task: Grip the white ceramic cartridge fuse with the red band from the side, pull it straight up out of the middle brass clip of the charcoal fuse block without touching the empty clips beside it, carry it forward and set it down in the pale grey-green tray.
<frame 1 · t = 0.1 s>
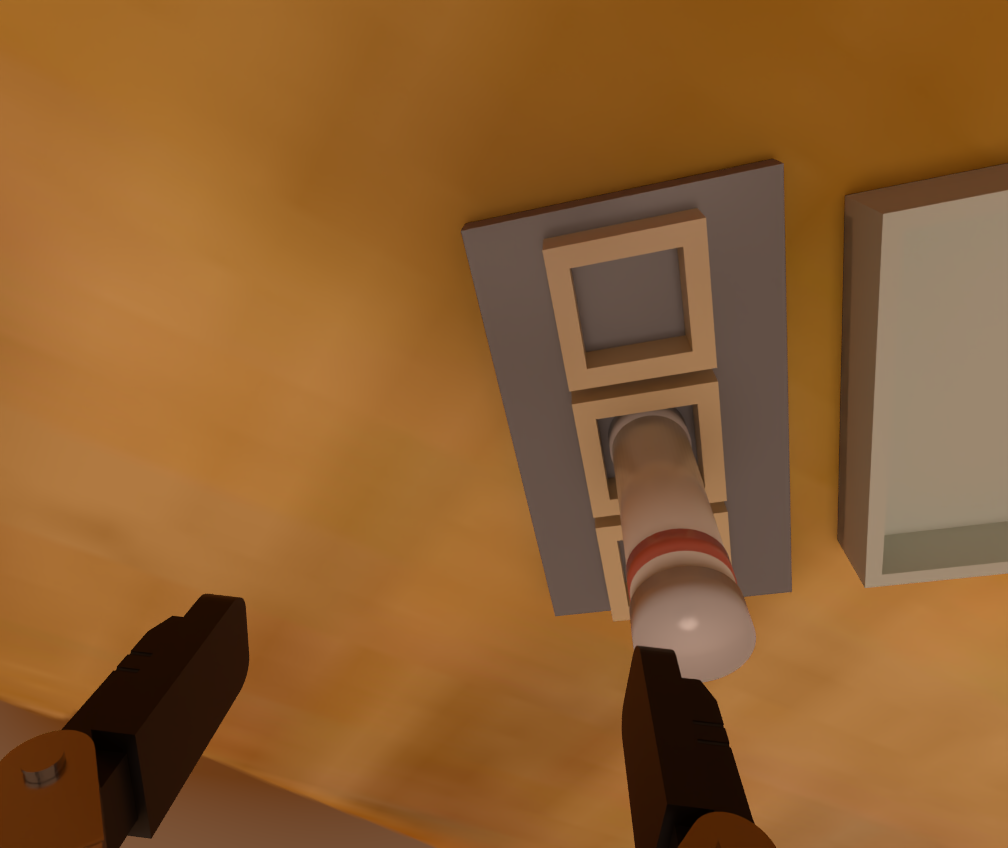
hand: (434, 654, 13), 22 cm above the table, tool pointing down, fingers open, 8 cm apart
fuse: (647, 433, 34), point 1 cm above the table, touching fuse block
fuse block: (644, 420, 36), on the table
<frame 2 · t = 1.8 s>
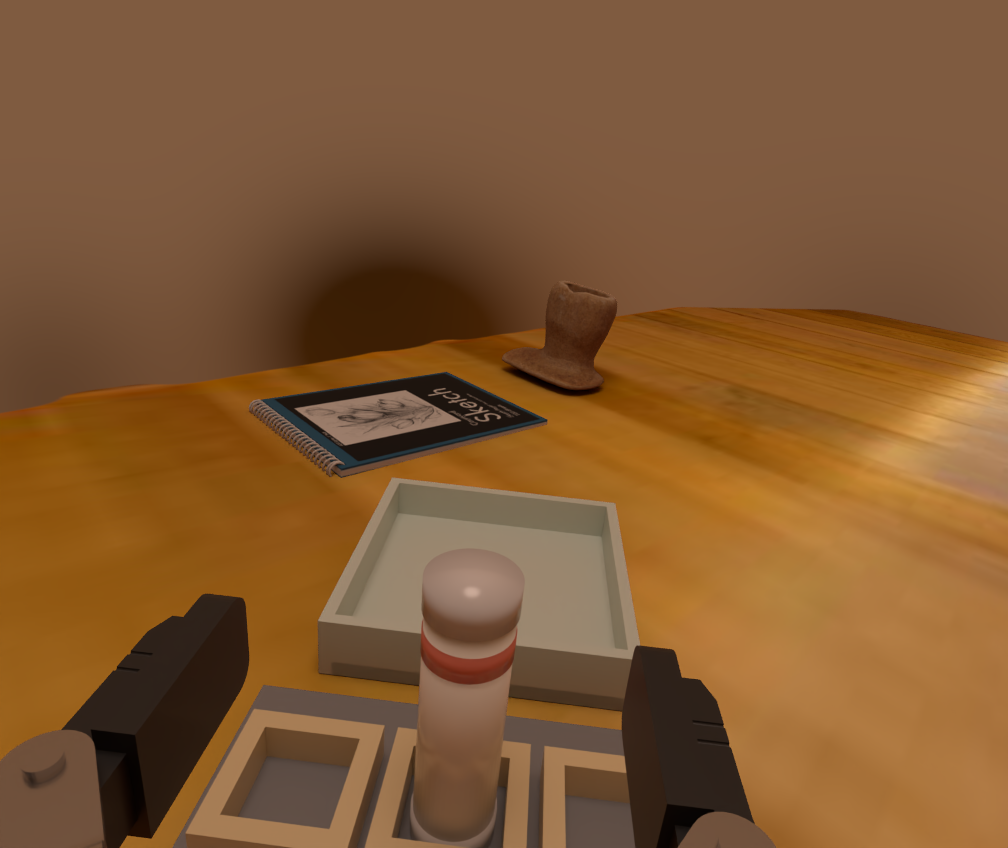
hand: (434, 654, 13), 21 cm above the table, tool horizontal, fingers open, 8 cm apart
fuse: (452, 825, 31), point 1 cm above the table, touching fuse block
fuse block: (450, 847, 32), on the table
stone cup: (558, 380, 102), on the table
sketchbook: (400, 422, 82), on the table
parts tray: (488, 596, 50), on the table
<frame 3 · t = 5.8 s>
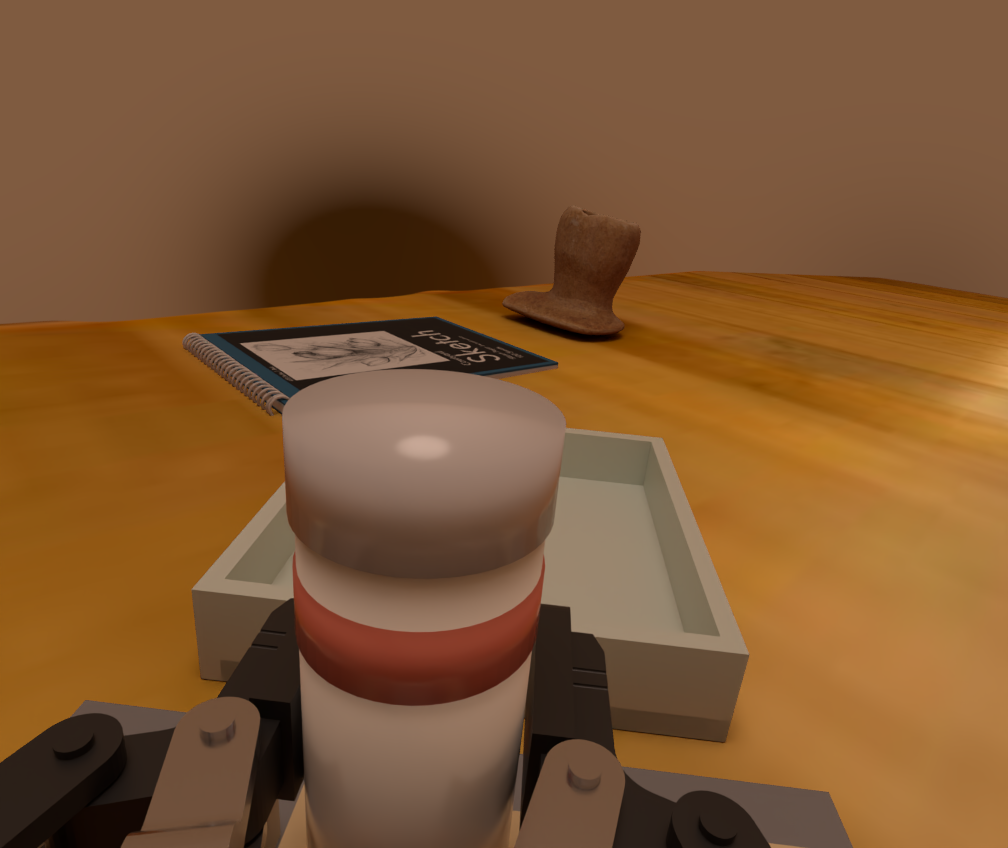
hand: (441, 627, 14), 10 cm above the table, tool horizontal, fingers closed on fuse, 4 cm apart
stone cup: (570, 328, 86), on the table
sketchbook: (375, 364, 66), on the table
parts tray: (485, 562, 34), on the table
when the fingers open (10 cm above the table, at t = 11.7 s): fuse stays where it is, resting on parts tray.
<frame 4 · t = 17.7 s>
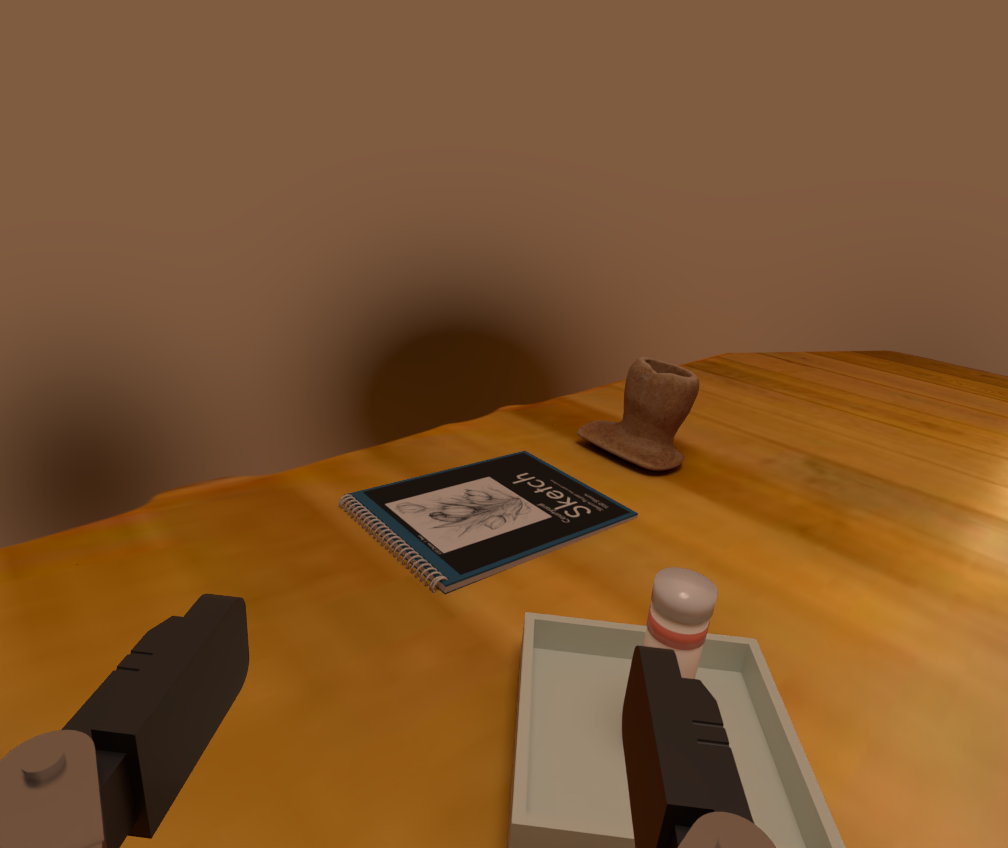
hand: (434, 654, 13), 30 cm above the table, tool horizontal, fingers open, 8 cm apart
fuse: (650, 746, 48), point 1 cm above the table, touching parts tray
stone cup: (635, 455, 101), on the table
sketchbook: (489, 515, 81), on the table
parts tray: (647, 755, 49), on the table
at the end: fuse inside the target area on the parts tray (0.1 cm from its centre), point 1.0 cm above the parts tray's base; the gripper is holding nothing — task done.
